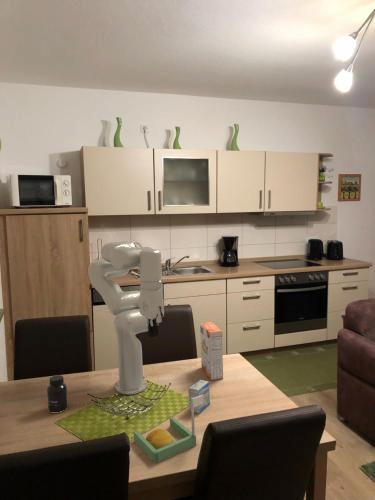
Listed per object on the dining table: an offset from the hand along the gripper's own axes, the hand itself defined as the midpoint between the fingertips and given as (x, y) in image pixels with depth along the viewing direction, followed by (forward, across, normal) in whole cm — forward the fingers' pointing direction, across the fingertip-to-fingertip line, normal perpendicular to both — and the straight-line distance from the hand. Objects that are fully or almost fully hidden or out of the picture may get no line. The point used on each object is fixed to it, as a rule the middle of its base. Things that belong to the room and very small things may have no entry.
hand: (153, 335), depth 137 cm
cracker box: (+27, -11, +34) cm, 45 cm away
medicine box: (+27, +9, +13) cm, 32 cm away
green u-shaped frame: (+27, +20, -6) cm, 34 cm away
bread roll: (+28, +19, -10) cm, 35 cm away
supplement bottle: (+27, -21, -29) cm, 45 cm away
